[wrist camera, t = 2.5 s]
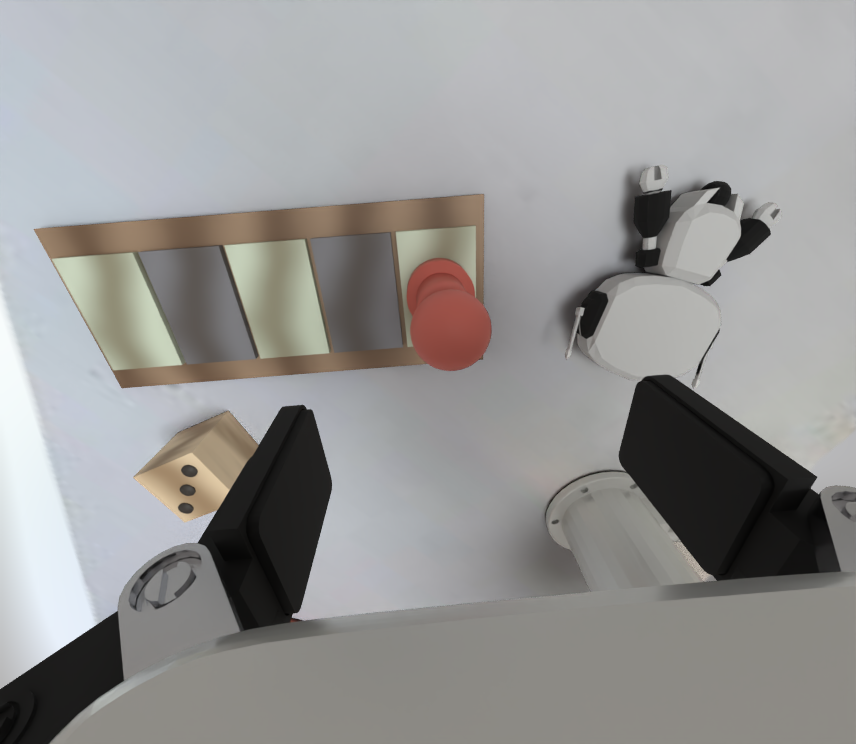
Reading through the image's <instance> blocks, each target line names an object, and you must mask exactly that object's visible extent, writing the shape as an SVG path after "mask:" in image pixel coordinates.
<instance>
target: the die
mask: <svg viewBox="0 0 856 744" xmlns="http://www.w3.org/2000/svg"><path fill="white" fill-rule="evenodd" d="M258 446H259V445H258V444H257V443H256V442H255V441H254V440H253V438H252V437H251V436H250V435H249V434H248V433H247V432H246V430H245V429H244V428H243V427H242V426H241V425H240V423H239V422H238V421H237V420H236V419H235V418H234V417H233V415H232V414H231V413H230V412H229V411H226V412H224V413H222V414H220V415H217V416H215V417H213V418H210V419H208V420H206V421H204V422H201V423H199V424H197V425H194V426H192V427H190V428H188V429H185V430H183V431H181V432H179V433H177V434H176V435H175V436H174V437H173V438H172V439H171V440H170V441H169V442H168V443H167V444H166V445H165V446H164V447H163V448H162V449H161V450H160V451H159V452H158V453H157V454H156V455H155V456H154V457H153V458H152V459H151V460H150V461H149V462H148V463H147V464H146V465H145V466H144V467H143V468H142V469H141V470H140V471H139V472H138V473H137V474H136V475H135V476H134V477H133V478H134V479H135V480H136V481H138V482H139V483H140V484H141V485H142V486H143V487H145V488H146V489H147V490H148V491H149V492H150V493H151V494H153V495H154V496H155V497H156V498H157V499H158V500H160V501H161V502H162V503H163V504H164V505H165V506H166V507H168V508H169V509H170V510H171V511H172V512H173V513H175V514H176V515H177V516H178V517H179V518H180V519H182V520H183V521H184V522H187V521H190V520H193V519H195V518H198V517H200V516H203V515H206V514H208V513H211V512H213V511H216V510H218V509H219V507H220V505H221V504H222V502H223V500H224V499H225V497H226V495H227V494H228V492H229V490H230V489H231V487H232V486H233V484H234V482H235V481H236V479H237V477H238V476H239V474H240V472H241V471H242V469H243V467H244V466H245V464H246V462H247V461H248V460H249V459H250V457H252V456H253V454H254V453H255V451H256V449H257V448H258Z"/></svg>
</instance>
